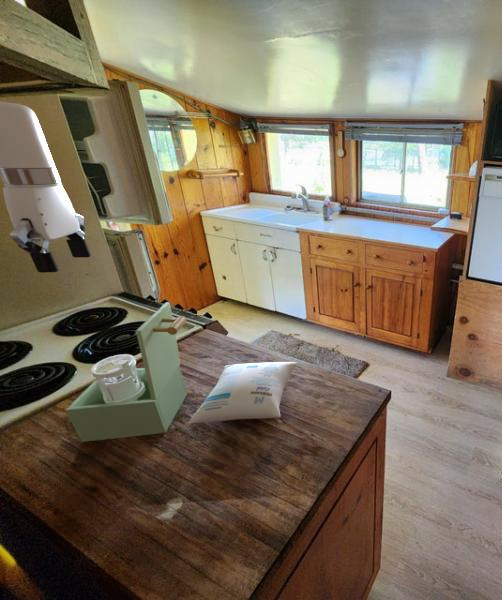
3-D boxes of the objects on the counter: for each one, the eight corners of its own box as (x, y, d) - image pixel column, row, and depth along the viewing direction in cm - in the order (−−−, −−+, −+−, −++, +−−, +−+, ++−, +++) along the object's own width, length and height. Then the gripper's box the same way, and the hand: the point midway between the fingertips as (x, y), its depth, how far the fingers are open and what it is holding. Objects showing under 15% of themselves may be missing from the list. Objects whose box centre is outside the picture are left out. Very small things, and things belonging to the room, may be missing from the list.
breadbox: (81, 442, 67) (65, 410, 64) (116, 400, 79) (104, 370, 75) (165, 432, 70) (154, 401, 67) (187, 393, 82) (179, 365, 78)
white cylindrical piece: (130, 428, 70) (107, 372, 64) (105, 421, 72) (79, 365, 65) (159, 406, 76) (141, 353, 70) (136, 400, 78) (115, 347, 72)
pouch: (222, 352, 85) (183, 404, 67) (297, 353, 87) (279, 403, 69) (226, 377, 88) (190, 434, 70) (298, 377, 90) (281, 431, 72)
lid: (135, 330, 60) (167, 331, 61) (165, 301, 71) (191, 302, 72) (151, 400, 66) (179, 399, 68) (176, 363, 78) (200, 363, 79)
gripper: (43, 173, 68) (74, 252, 75) (-40, 181, 53) (9, 279, 60) (85, 175, 70) (111, 252, 77) (16, 182, 54) (57, 278, 61)
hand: (66, 264), depth 68 cm, fingers open, 9 cm apart
